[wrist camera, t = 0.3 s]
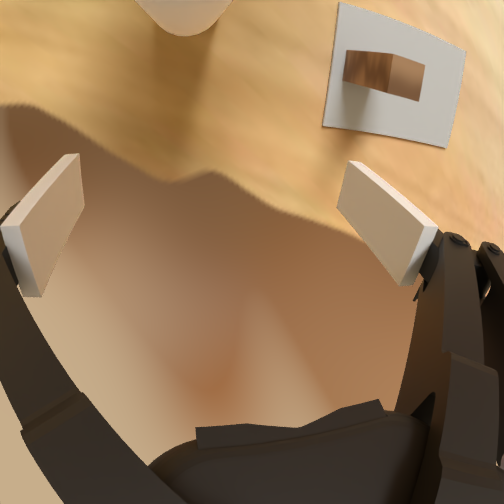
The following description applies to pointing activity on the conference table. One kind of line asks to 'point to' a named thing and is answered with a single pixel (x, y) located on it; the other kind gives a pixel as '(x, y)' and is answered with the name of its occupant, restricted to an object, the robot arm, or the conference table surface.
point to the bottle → (184, 14)
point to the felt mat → (387, 105)
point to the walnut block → (384, 73)
